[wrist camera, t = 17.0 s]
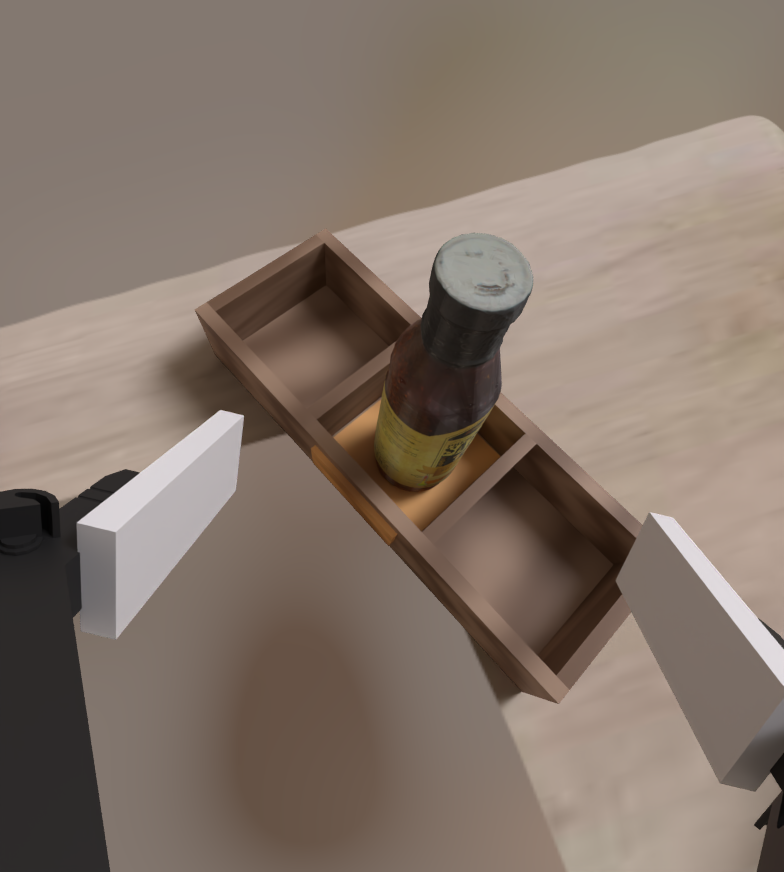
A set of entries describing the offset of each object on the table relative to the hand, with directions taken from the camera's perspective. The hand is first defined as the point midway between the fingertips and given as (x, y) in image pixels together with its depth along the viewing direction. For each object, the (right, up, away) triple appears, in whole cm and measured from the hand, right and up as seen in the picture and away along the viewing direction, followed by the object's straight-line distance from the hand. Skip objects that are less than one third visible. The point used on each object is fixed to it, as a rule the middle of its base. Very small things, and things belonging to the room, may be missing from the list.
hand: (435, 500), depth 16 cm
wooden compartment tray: (0, 0, +23) cm, 23 cm away
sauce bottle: (0, +1, +22) cm, 22 cm away
